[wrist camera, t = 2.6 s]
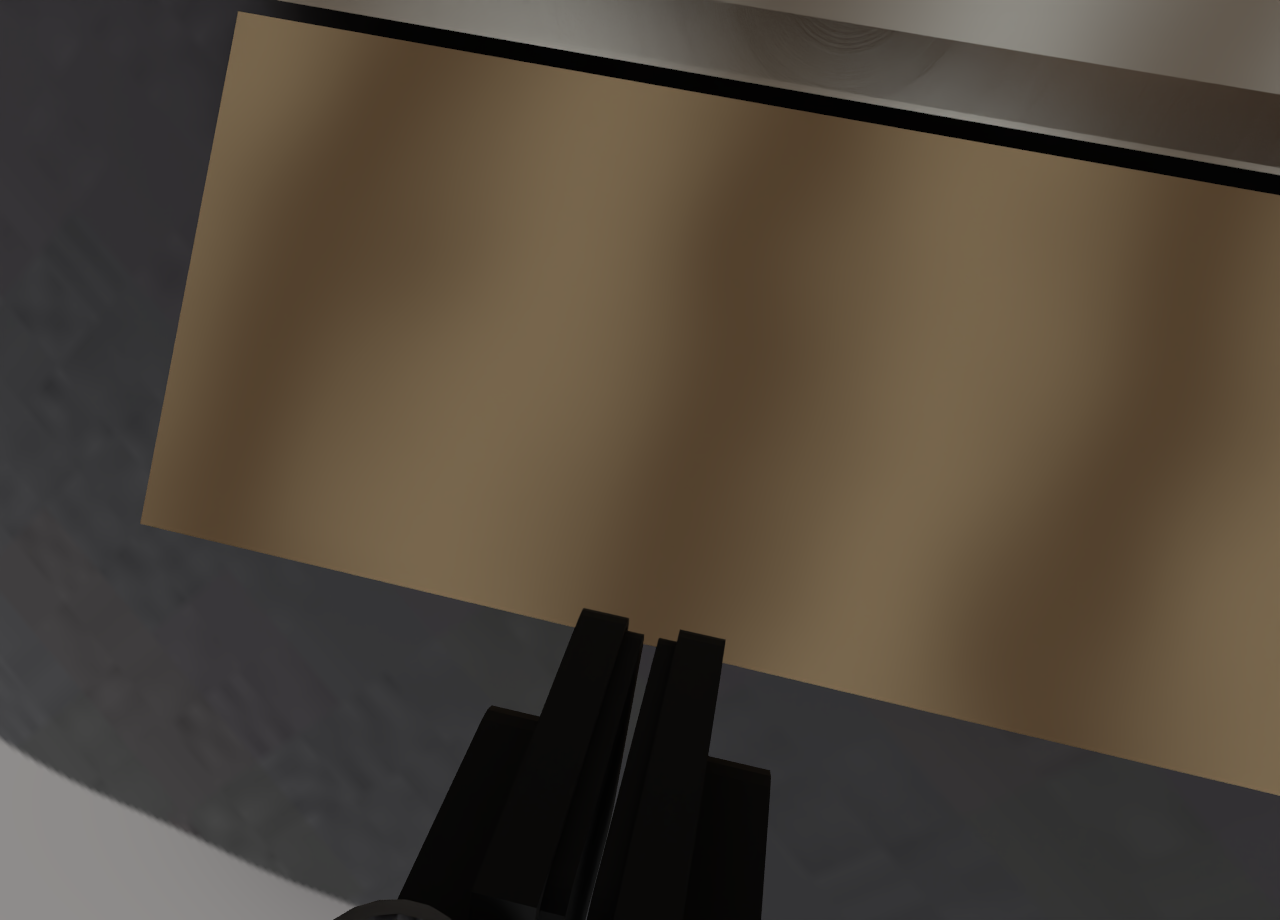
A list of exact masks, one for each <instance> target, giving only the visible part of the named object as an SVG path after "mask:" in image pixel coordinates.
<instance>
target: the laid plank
mask: <svg viewBox="0 0 1280 920" xmlns="http://www.w3.org/2000/svg"><path fill="white" fill-rule="evenodd" d="M279 1H285V2H291V3H297V4H302V5H308V6H314V7H320V8H325V9H331V10H337V11H342V12H348V13H354V14H360V15H365V16H371V17H377V18H383V19H388V20H394V21H400V22H405V23H411V24H417V25H423V26H428V27H434V28H440V29H446V30H451V31H457V32H463V33H468V34H474V35H480V36H486V37H491V38H497V39H503V40H509V41H514V42H520V43H526V44H531V45H537V46H543V47H549V48H554V49H560V50H566V51H572V52H577V53H583V54H589V55H594V56H600V57H606V58H612V59H617V60H623V61H629V62H635V63H640V64H646V65H652V66H657V67H663V68H669V69H675V70H680V71H686V72H692V73H698V74H703V75H709V76H715V77H720V78H726V79H732V80H738V81H743V82H749V83H755V84H761V85H766V86H772V87H778V88H783V89H789V90H795V91H801V92H806V93H812V94H818V95H824V96H829V97H835V98H841V99H847V100H852V101H858V102H864V103H869V104H875V105H881V106H887V107H892V108H898V109H904V110H910V111H915V112H921V113H927V114H932V115H938V116H944V117H950V118H955V119H961V120H967V121H973V122H978V123H984V124H990V125H995V126H1001V127H1007V128H1013V129H1018V130H1024V131H1030V132H1036V133H1041V134H1047V135H1053V136H1058V137H1064V138H1070V139H1076V140H1081V141H1087V142H1093V143H1099V144H1104V145H1110V146H1116V147H1121V148H1127V149H1133V150H1139V151H1144V152H1150V153H1156V154H1162V155H1167V156H1173V157H1179V158H1184V159H1190V160H1196V161H1202V162H1207V163H1213V164H1219V165H1225V166H1230V167H1236V168H1242V169H1247V170H1253V171H1259V172H1265V173H1270V174H1276V175H1280V0H279Z"/></svg>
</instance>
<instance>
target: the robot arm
mask: <svg viewBox="0 0 1280 920" xmlns="http://www.w3.org/2000/svg"><path fill="white" fill-rule="evenodd" d="M628 627H629V618H627V617H622V616H618V615H614V614H609V613H605V612H600V611H596V610H591V609H587V608H583V609H582V611H581V614H580V616H579V618H578V621H577V624H576V626H575V629H574V631H573V634H572V636H571V639H570V641H569V644H568V646H567V649H566V652H565V654H564V657H563V659H562V662H561V664H560V667H559V669H558V672H557V674H556V677H555V680H554V682H553V685H552V687H551V690H550V692H549V695H548V697H547V700H546V703H545V705H544V708H543V710H542V713H541V715H540V717H539V716H535V715H530V714H526V713H522V712H518V711H513V710H509V709H505V708H500V707H496V706H491V707H490V708H489V709H488V710H487V711H486V713H485V715H484V717H483V719H482V721H481V723H480V725H479V727H478V729H477V731H476V733H475V735H474V738H473V740H472V742H471V744H470V746H469V748H468V750H467V752H466V755H465V757H464V759H463V761H462V763H461V765H460V767H459V769H458V772H457V774H456V776H455V778H454V780H453V782H452V784H451V786H450V789H449V791H448V793H447V795H446V797H445V799H444V801H443V804H442V806H441V808H440V810H439V812H438V814H437V816H436V818H435V821H434V823H433V825H432V827H431V829H430V831H429V833H428V835H427V838H426V840H425V842H424V844H423V846H422V848H421V850H420V852H419V855H418V857H417V859H416V861H415V863H414V865H413V867H412V870H411V872H410V874H409V876H408V878H407V880H406V882H405V884H404V887H403V889H402V891H401V893H400V895H399V897H398V899H397V900H378V901H374V902H371V903H368V904H364V905H361V906H357V907H354V908H352V909H351V910H349V911H347V912H346V913H344V914H342V915H341V916H339V917H337V918H335V919H334V920H585V919H586V915H587V911H588V907H589V903H590V899H591V896H592V899H591V904H590V908H589V912H588V917H587V920H761V912H762V898H763V884H764V870H765V856H766V842H767V828H768V814H769V799H770V783H771V775H770V770H766V769H761V768H757V767H753V766H748V765H744V764H740V763H736V762H731V761H727V760H723V759H719V758H714V757H710V756H708V752H709V746H710V739H711V733H712V727H713V720H714V714H715V707H716V701H717V694H718V688H719V681H720V675H721V668H722V662H723V656H724V649H725V642H726V639H721V638H717V637H712V636H708V635H703V634H699V633H694V632H690V631H685V630H681V629H680V631H679V635H678V639H677V642H676V641H672V640H667V639H663V638H659V639H658V643H657V647H656V651H655V654H654V658H653V662H652V666H651V670H650V674H649V678H648V682H647V685H646V689H645V693H644V697H643V701H642V705H641V709H640V713H639V716H638V720H637V724H636V728H635V732H634V736H633V740H632V744H631V747H630V751H629V755H628V759H627V763H626V767H625V771H624V775H623V778H622V782H621V786H620V790H619V794H618V798H617V802H616V806H615V809H614V813H613V817H612V812H613V807H614V802H615V796H616V791H617V785H618V780H619V774H620V769H621V763H622V758H623V752H624V747H625V741H626V736H627V730H628V725H629V719H630V714H631V708H632V703H633V697H634V692H635V686H636V681H637V675H638V670H639V664H640V659H641V653H642V648H643V642H644V634H640V633H636V632H632V631H628ZM611 817H612V821H611ZM610 821H611V825H610ZM609 825H610V829H609ZM608 830H609V833H608ZM607 834H608V837H607ZM606 838H607V840H606ZM605 842H606V844H605ZM604 845H605V848H604ZM603 849H604V852H603ZM602 853H603V856H602ZM601 857H602V860H601ZM600 861H601V864H600ZM599 865H600V868H599ZM598 869H599V871H598ZM597 872H598V875H597ZM596 876H597V879H596ZM595 880H596V883H595ZM594 884H595V887H594ZM593 888H594V891H593ZM592 892H593V895H592Z"/></svg>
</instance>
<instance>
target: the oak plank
mask: <svg viewBox="0 0 1280 920" xmlns="http://www.w3.org/2000/svg"><path fill="white" fill-rule="evenodd" d="M140 524H144V525H148V526H152V527H156V528H160V529H165V530H169V531H173V532H177V533H181V534H186V535H190V536H194V537H198V538H202V539H207V540H211V541H215V542H219V543H223V544H227V545H232V546H236V547H240V548H244V549H248V550H253V551H257V552H261V553H265V554H269V555H274V556H278V557H282V558H286V559H290V560H295V561H299V562H303V563H307V564H311V565H316V566H320V567H324V568H328V569H332V570H336V571H341V572H345V573H349V574H353V575H357V576H362V577H366V578H370V579H374V580H378V581H383V582H387V583H391V584H395V585H399V586H404V587H408V588H412V589H416V590H420V591H424V592H429V593H433V594H437V595H441V596H445V597H450V598H454V599H458V600H462V601H466V602H471V603H475V604H479V605H483V606H487V607H492V608H496V609H500V610H504V611H508V612H513V613H517V614H521V615H525V616H529V617H533V618H538V619H542V620H546V621H550V622H554V623H559V624H563V625H567V626H571V627H575V626H576V624H577V621H578V618H579V616H580V614H581V611H582V609H583V608H587V609H591V610H596V611H600V612H605V613H609V614H614V615H618V616H622V617H627V618H629V627H628V631H632V632H636V633H640V634H644V642H643V644H647V645H651V646H655V647H657V643H658V639H659V638H663V639H667V640H672V641H676V642H677V639H678V635H679V631H680V629H681V630H685V631H690V632H694V633H699V634H703V635H708V636H712V637H717V638H721V639H726V642H725V649H724V656H723V662H722V663H726V664H730V665H735V666H739V667H743V668H747V669H751V670H756V671H760V672H764V673H768V674H772V675H777V676H781V677H785V678H789V679H793V680H798V681H802V682H806V683H810V684H814V685H819V686H823V687H827V688H831V689H835V690H839V691H844V692H848V693H852V694H856V695H860V696H865V697H869V698H873V699H877V700H881V701H886V702H890V703H894V704H898V705H902V706H907V707H911V708H915V709H919V710H923V711H928V712H932V713H936V714H940V715H944V716H948V717H953V718H957V719H961V720H965V721H969V722H974V723H978V724H982V725H986V726H990V727H995V728H999V729H1003V730H1007V731H1011V732H1016V733H1020V734H1024V735H1028V736H1032V737H1036V738H1041V739H1045V740H1049V741H1053V742H1057V743H1062V744H1066V745H1070V746H1074V747H1078V748H1083V749H1087V750H1091V751H1095V752H1099V753H1104V754H1108V755H1112V756H1116V757H1120V758H1125V759H1129V760H1133V761H1137V762H1141V763H1145V764H1150V765H1154V766H1158V767H1162V768H1166V769H1171V770H1175V771H1179V772H1183V773H1187V774H1192V775H1196V776H1200V777H1204V778H1208V779H1213V780H1217V781H1221V782H1225V783H1229V784H1233V785H1238V786H1242V787H1246V788H1250V789H1254V790H1259V791H1263V792H1267V793H1271V794H1275V795H1280V195H1275V194H1269V193H1263V192H1258V191H1252V190H1246V189H1241V188H1235V187H1229V186H1224V185H1218V184H1212V183H1207V182H1201V181H1195V180H1190V179H1184V178H1178V177H1173V176H1167V175H1161V174H1156V173H1150V172H1144V171H1139V170H1133V169H1128V168H1122V167H1116V166H1111V165H1105V164H1099V163H1094V162H1088V161H1082V160H1077V159H1071V158H1065V157H1060V156H1054V155H1048V154H1043V153H1037V152H1031V151H1026V150H1020V149H1014V148H1009V147H1003V146H997V145H992V144H986V143H980V142H975V141H969V140H963V139H958V138H952V137H946V136H941V135H935V134H929V133H924V132H918V131H912V130H907V129H901V128H895V127H890V126H884V125H878V124H873V123H867V122H862V121H856V120H850V119H845V118H839V117H833V116H828V115H822V114H816V113H811V112H805V111H799V110H794V109H788V108H782V107H777V106H771V105H765V104H760V103H754V102H748V101H743V100H737V99H731V98H726V97H720V96H714V95H709V94H703V93H697V92H692V91H686V90H680V89H675V88H669V87H663V86H658V85H652V84H646V83H641V82H635V81H629V80H624V79H618V78H612V77H607V76H601V75H595V74H590V73H584V72H579V71H573V70H567V69H562V68H556V67H550V66H545V65H539V64H533V63H528V62H522V61H516V60H511V59H505V58H499V57H494V56H488V55H482V54H477V53H471V52H465V51H460V50H454V49H448V48H443V47H437V46H431V45H426V44H420V43H414V42H409V41H403V40H397V39H392V38H386V37H380V36H375V35H369V34H363V33H358V32H352V31H346V30H341V29H335V28H329V27H324V26H318V25H312V24H307V23H301V22H296V21H290V20H284V19H279V18H273V17H267V16H262V15H256V14H250V13H245V12H239V11H238V15H237V21H236V26H235V31H234V36H233V42H232V47H231V52H230V57H229V63H228V68H227V73H226V78H225V83H224V89H223V94H222V99H221V104H220V110H219V115H218V120H217V125H216V131H215V136H214V141H213V146H212V152H211V157H210V162H209V167H208V173H207V178H206V183H205V188H204V193H203V199H202V204H201V209H200V214H199V220H198V225H197V230H196V235H195V241H194V246H193V251H192V256H191V262H190V267H189V272H188V277H187V282H186V288H185V293H184V298H183V303H182V309H181V314H180V319H179V324H178V330H177V335H176V340H175V345H174V351H173V356H172V361H171V366H170V371H169V377H168V382H167V387H166V392H165V398H164V403H163V408H162V413H161V419H160V424H159V429H158V434H157V440H156V445H155V450H154V455H153V460H152V466H151V471H150V476H149V481H148V487H147V492H146V497H145V502H144V508H143V513H142V518H141V523H140Z"/></svg>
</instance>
